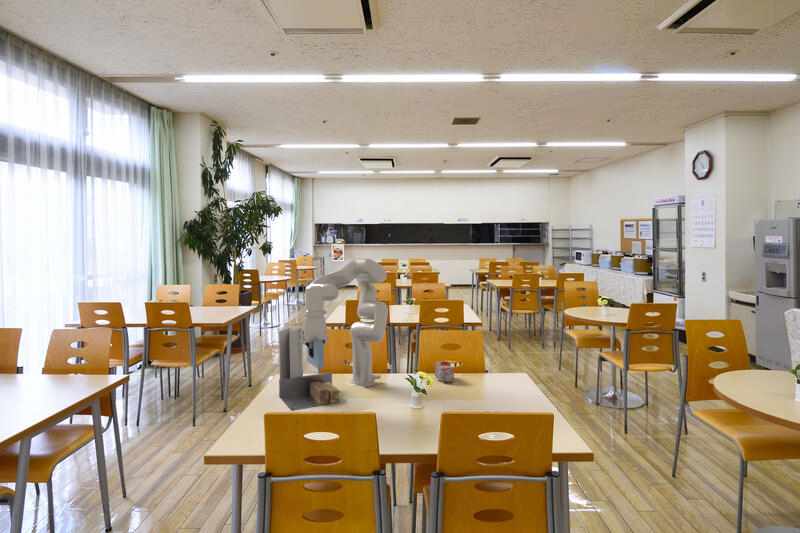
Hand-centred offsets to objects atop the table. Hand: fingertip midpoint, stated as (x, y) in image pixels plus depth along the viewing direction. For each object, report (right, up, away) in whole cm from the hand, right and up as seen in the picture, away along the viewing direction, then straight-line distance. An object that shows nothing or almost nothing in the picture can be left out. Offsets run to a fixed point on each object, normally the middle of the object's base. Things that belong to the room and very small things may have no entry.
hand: (315, 356), depth 205 cm
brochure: (-16, -21, +24) cm, 36 cm away
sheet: (0, -4, 0) cm, 4 cm away
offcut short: (+5, -21, +10) cm, 23 cm away
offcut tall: (0, -21, +8) cm, 22 cm away
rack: (-2, -22, +8) cm, 23 cm away
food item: (+59, -20, +41) cm, 75 cm away
